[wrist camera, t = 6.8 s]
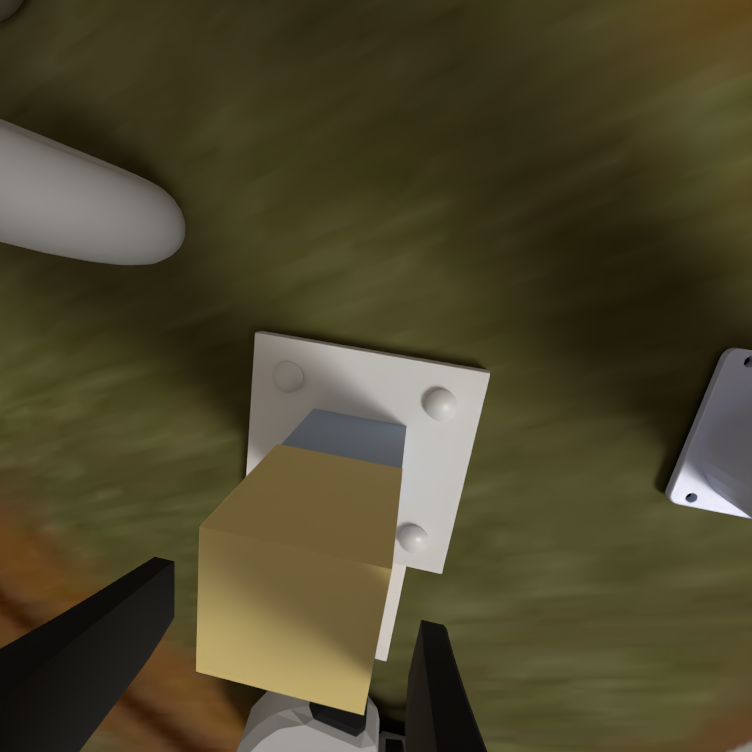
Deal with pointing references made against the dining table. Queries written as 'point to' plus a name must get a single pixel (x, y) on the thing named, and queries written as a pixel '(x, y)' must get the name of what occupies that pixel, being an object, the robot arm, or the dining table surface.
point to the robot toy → (314, 728)
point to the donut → (81, 204)
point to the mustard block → (299, 576)
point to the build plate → (382, 403)
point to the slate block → (350, 437)
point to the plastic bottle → (8, 8)
